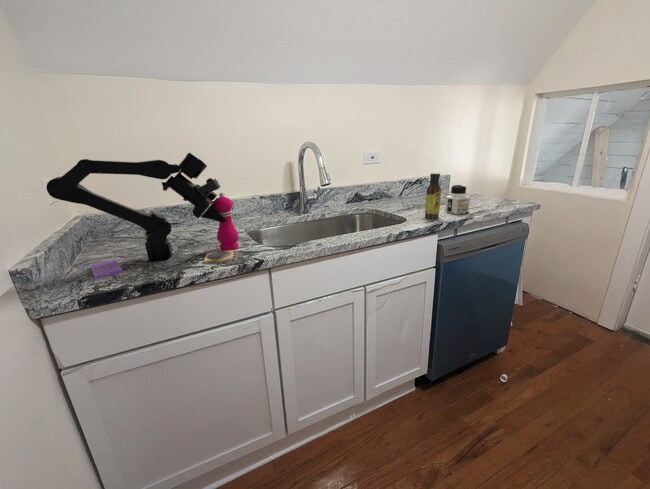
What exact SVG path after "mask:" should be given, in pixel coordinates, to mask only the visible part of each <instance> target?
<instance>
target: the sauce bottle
mask: <svg viewBox="0 0 650 489" xmlns="http://www.w3.org/2000/svg"><path fill="white" fill-rule="evenodd" d="M429 176H430V182H429V184H428V186H427V188H426V194H425V207H424V217H425V218H428V219H436V218H439V214H440V208H441V196H442V188H441V186H440V177H441V173H439V172H431V173H430V175H429Z"/></svg>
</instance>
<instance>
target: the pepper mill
mask: <svg viewBox="0 0 650 489" xmlns="http://www.w3.org/2000/svg"><path fill="white" fill-rule="evenodd" d="M225 195H226V194H225V193H224V192H220V193H219V194H218V196H219V197H218V198H217V197H216V198H217V199H216V198H215V199H216V200H215V199H214V200H215V202H214V205H215V209H216V210H217V211H218V212H219V213H220V214H221V215H222V216H223V217H224V218H225V219H226V222H225V223H223V222H219V221H218V223H219V225H218V229H217V232H216V233H217V235H216V239H217V241H218V242H219V243H220V244H219V248H220V251H228V250H233V251H236V250H237V249H239V243H238V239H239V233H238V230H237V228H236V227H235V225H234V223H233V220H232V215H233V211H232V208H233V201H232V200H231V199H230V198H229V197H228V196H225Z"/></svg>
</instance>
